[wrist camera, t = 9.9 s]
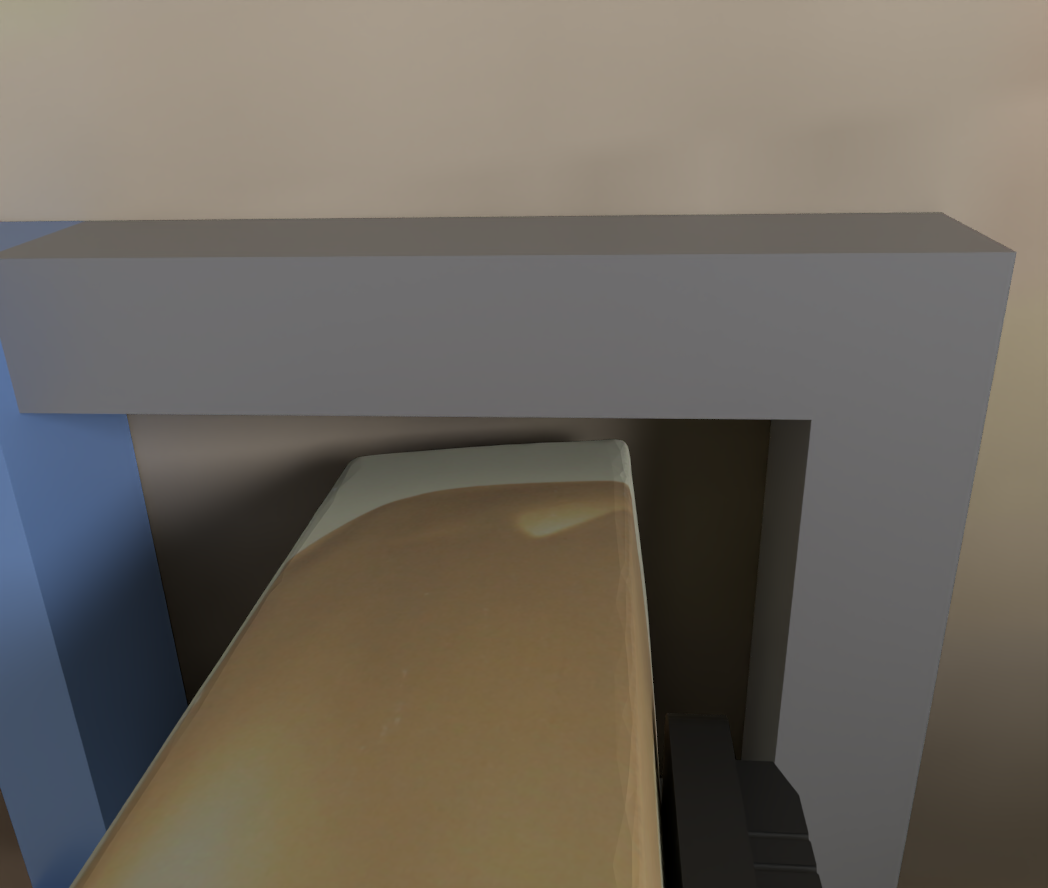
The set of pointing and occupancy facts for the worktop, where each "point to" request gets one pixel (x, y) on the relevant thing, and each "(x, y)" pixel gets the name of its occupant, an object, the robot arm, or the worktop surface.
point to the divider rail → (503, 391)
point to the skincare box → (424, 694)
